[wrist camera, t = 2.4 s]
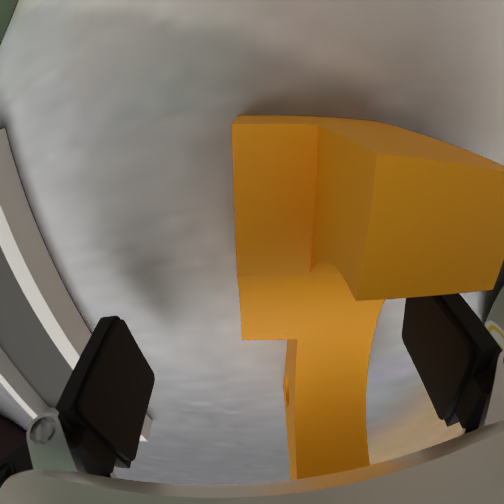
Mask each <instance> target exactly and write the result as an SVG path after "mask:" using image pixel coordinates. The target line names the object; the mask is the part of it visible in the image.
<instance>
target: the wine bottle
mask: <svg viewBox="0 0 504 504" xmlns="http://www.w3.org/2000/svg"><path fill="white" fill-rule="evenodd" d="M26 434H27V432H25V431H24V430H23V429H21V428H20V427H19V426H17V425H16V424H14V423H13V422H11V421H9V420H8V419H6V418H4V417H2V416H0V459H1V458H3V457H5V456H6V455H8V454H9V453H11V452H13V451H14V450H16V449H17V448H19V447H21V446H22V445H24V444H25V443H27V436H26Z"/></svg>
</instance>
